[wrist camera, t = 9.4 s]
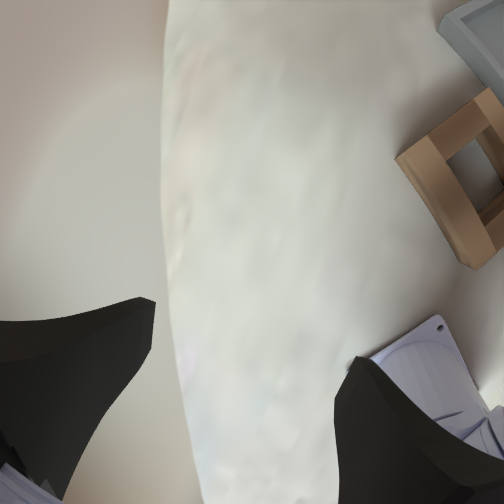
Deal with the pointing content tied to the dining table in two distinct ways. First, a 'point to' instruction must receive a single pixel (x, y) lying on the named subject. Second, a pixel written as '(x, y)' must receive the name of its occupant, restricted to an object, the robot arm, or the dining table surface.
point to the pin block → (448, 187)
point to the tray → (479, 40)
